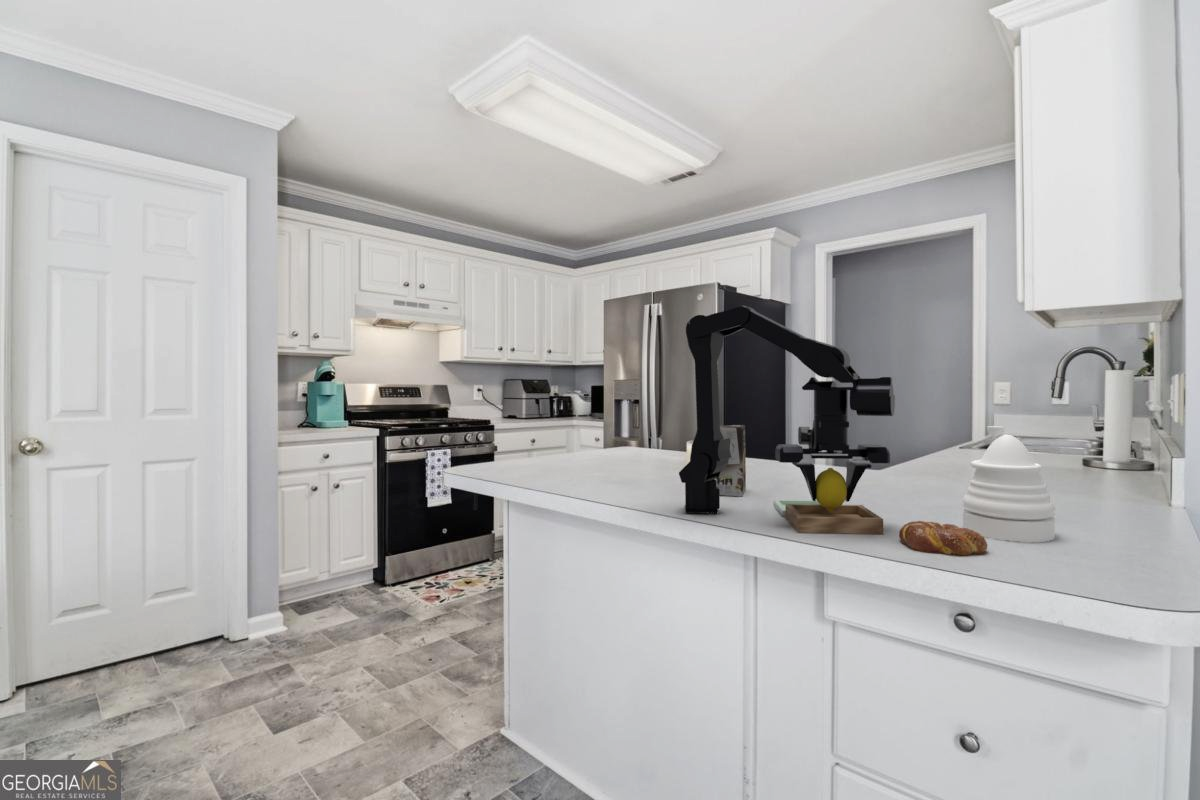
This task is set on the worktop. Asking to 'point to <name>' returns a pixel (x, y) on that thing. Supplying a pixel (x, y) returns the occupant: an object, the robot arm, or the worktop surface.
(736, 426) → the coffee box
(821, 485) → the lemon
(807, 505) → the tray
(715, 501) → the robot arm
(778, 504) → the dish
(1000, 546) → the worktop surface
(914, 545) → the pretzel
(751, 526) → the worktop surface
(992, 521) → the honey pot
